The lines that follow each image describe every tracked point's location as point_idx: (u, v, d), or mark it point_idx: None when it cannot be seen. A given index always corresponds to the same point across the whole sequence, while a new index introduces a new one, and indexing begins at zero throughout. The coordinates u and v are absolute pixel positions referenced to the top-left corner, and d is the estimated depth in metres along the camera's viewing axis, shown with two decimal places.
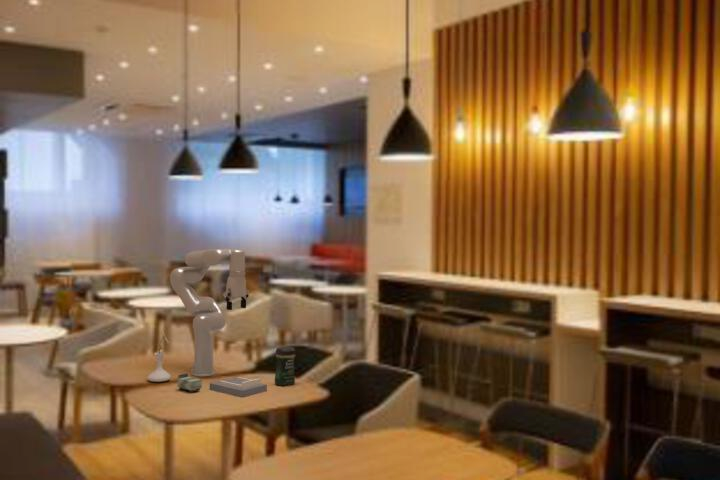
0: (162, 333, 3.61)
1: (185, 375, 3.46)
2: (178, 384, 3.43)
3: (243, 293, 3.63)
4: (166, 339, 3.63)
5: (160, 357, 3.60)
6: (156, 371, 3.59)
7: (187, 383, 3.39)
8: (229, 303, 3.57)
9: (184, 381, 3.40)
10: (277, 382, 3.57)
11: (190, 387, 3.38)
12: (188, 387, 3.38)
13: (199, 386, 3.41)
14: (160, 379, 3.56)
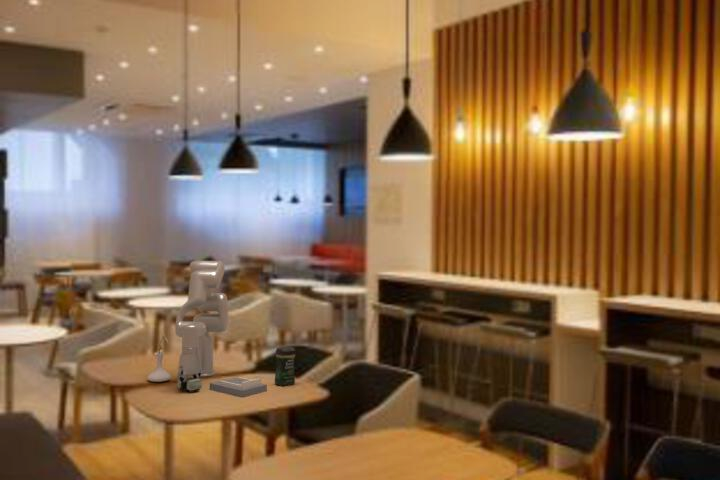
0: (162, 333, 3.61)
1: None
2: (178, 384, 3.43)
3: (197, 370, 3.43)
4: (166, 339, 3.63)
5: (160, 357, 3.60)
6: (156, 371, 3.59)
7: (187, 383, 3.39)
8: (183, 383, 3.39)
9: None
10: (277, 382, 3.57)
11: (190, 387, 3.38)
12: (188, 387, 3.38)
13: (199, 386, 3.41)
14: (160, 379, 3.56)
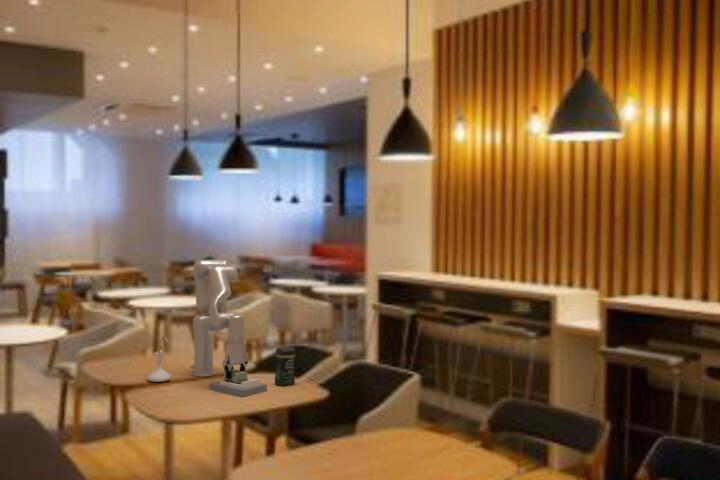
0: (162, 333, 3.61)
1: (231, 368, 3.50)
2: (224, 377, 3.47)
3: (242, 360, 3.48)
4: (166, 339, 3.63)
5: (160, 357, 3.60)
6: (156, 371, 3.59)
7: (233, 375, 3.43)
8: (228, 372, 3.42)
9: None
10: (277, 382, 3.57)
11: (236, 380, 3.42)
12: (235, 380, 3.43)
13: (245, 379, 3.45)
14: (160, 379, 3.56)
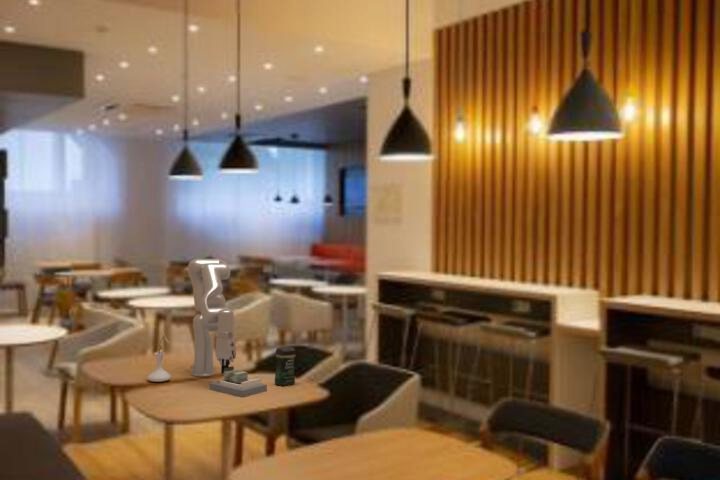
0: (162, 333, 3.61)
1: (231, 368, 3.50)
2: (224, 377, 3.47)
3: (225, 356, 3.48)
4: (166, 339, 3.63)
5: (160, 357, 3.59)
6: (156, 371, 3.59)
7: (233, 375, 3.43)
8: None
9: (230, 374, 3.45)
10: (277, 382, 3.57)
11: (236, 380, 3.42)
12: (235, 380, 3.43)
13: (245, 379, 3.45)
14: (160, 379, 3.56)
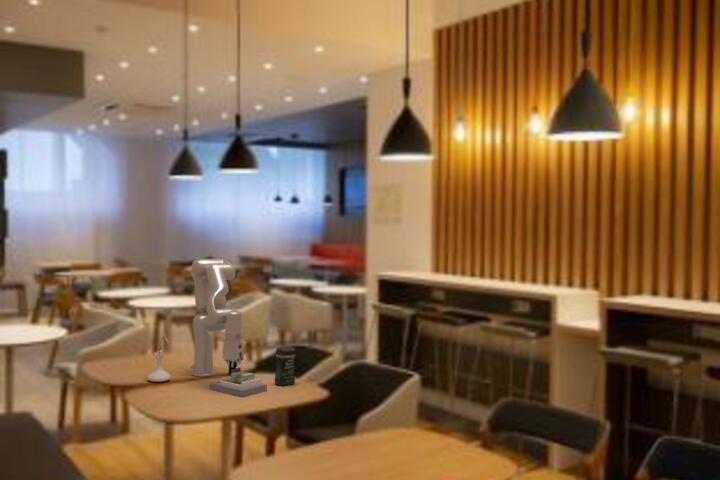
0: (162, 333, 3.61)
1: (238, 369, 3.47)
2: (231, 378, 3.44)
3: (232, 358, 3.45)
4: (166, 339, 3.63)
5: (160, 357, 3.60)
6: (156, 371, 3.59)
7: (241, 377, 3.40)
8: None
9: (238, 375, 3.42)
10: (277, 382, 3.57)
11: None
12: (242, 381, 3.40)
13: None
14: (160, 379, 3.56)
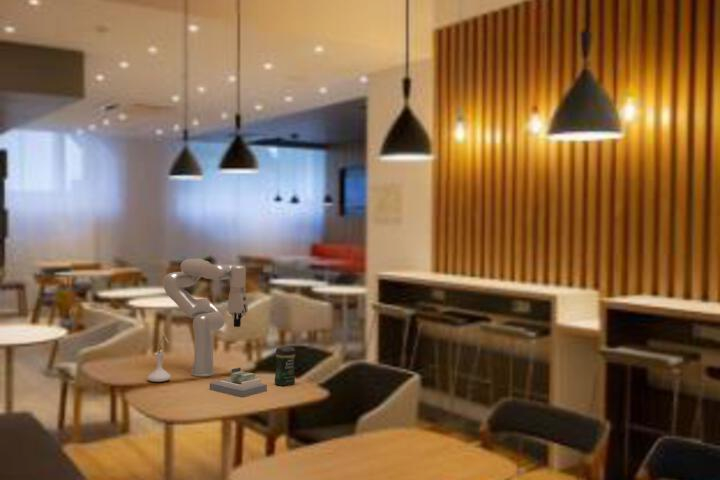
0: (162, 333, 3.61)
1: (238, 369, 3.47)
2: (231, 378, 3.44)
3: (237, 310, 3.62)
4: (166, 339, 3.63)
5: (160, 357, 3.60)
6: (156, 371, 3.59)
7: (241, 377, 3.40)
8: (234, 320, 3.66)
9: (238, 375, 3.42)
10: (277, 382, 3.57)
11: (244, 381, 3.39)
12: (242, 381, 3.40)
13: None
14: (160, 379, 3.56)
